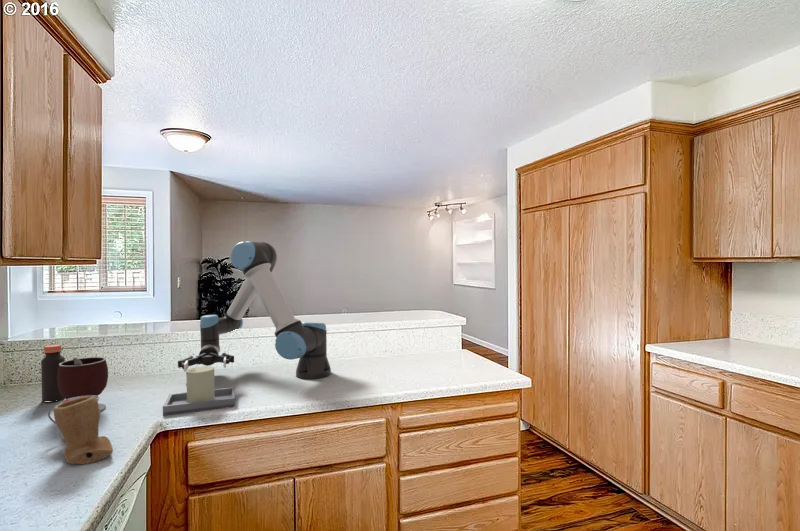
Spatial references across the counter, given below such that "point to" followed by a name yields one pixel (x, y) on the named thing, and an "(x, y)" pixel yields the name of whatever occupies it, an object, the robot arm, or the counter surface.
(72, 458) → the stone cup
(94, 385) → the mate gourd
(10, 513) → the counter surface
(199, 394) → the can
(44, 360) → the bottle
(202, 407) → the tray
